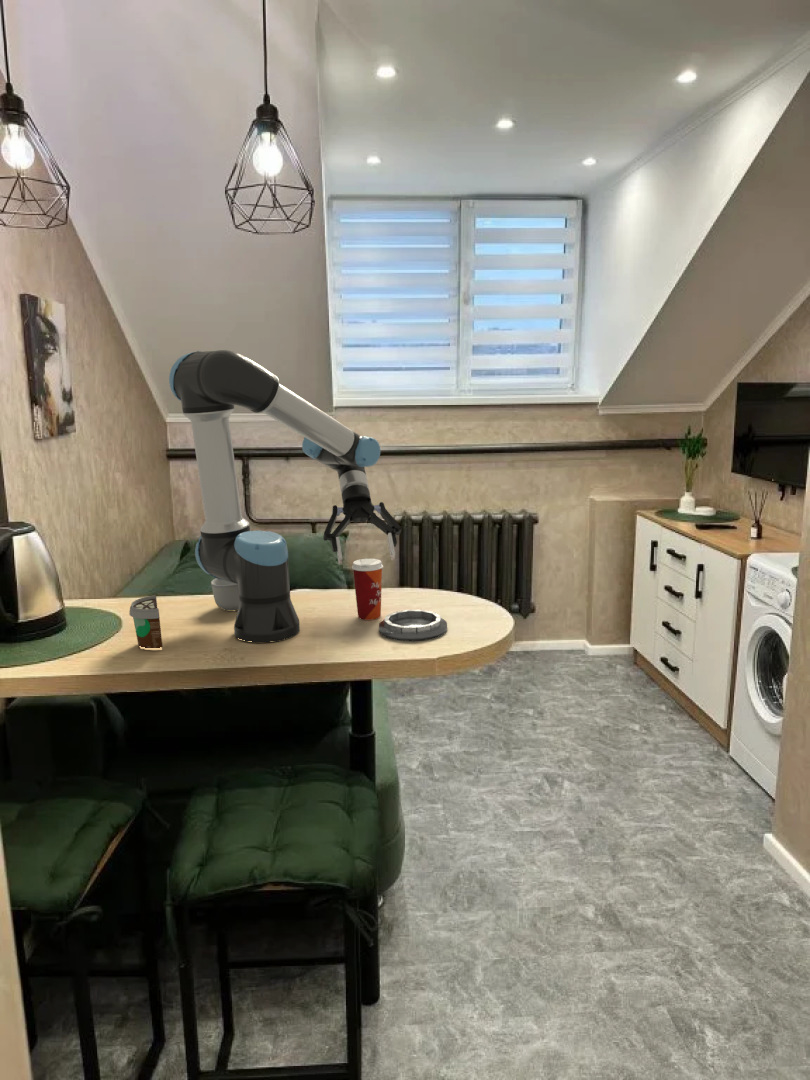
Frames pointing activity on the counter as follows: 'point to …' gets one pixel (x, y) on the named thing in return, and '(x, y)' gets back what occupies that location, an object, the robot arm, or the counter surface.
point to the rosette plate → (412, 625)
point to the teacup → (226, 594)
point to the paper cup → (368, 587)
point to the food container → (147, 622)
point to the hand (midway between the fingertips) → (367, 559)
